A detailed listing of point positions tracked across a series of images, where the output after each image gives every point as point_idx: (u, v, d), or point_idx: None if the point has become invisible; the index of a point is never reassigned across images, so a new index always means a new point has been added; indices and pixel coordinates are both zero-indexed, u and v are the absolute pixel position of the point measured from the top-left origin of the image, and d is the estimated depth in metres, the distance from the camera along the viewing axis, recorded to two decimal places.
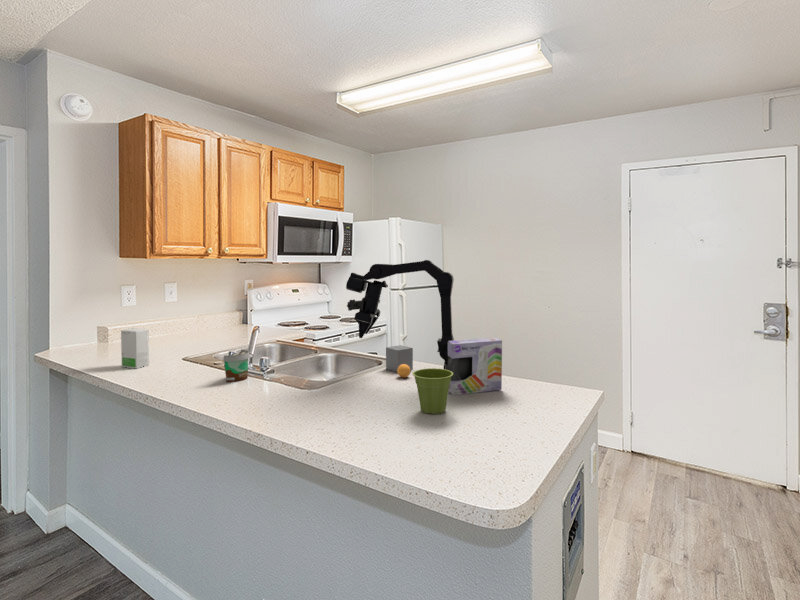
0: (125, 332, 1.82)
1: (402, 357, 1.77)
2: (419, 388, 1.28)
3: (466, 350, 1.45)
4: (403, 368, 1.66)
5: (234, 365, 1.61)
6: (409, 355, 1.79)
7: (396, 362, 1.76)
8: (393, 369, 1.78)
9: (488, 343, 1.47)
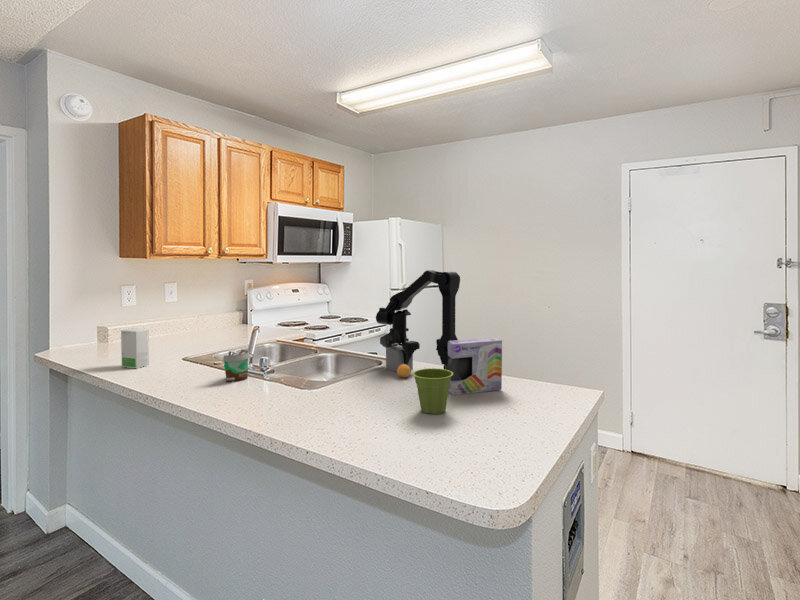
0: (125, 332, 1.82)
1: (402, 357, 1.77)
2: (419, 388, 1.28)
3: (466, 350, 1.45)
4: (403, 368, 1.66)
5: (234, 365, 1.61)
6: None
7: (396, 362, 1.76)
8: (393, 369, 1.78)
9: (488, 343, 1.47)
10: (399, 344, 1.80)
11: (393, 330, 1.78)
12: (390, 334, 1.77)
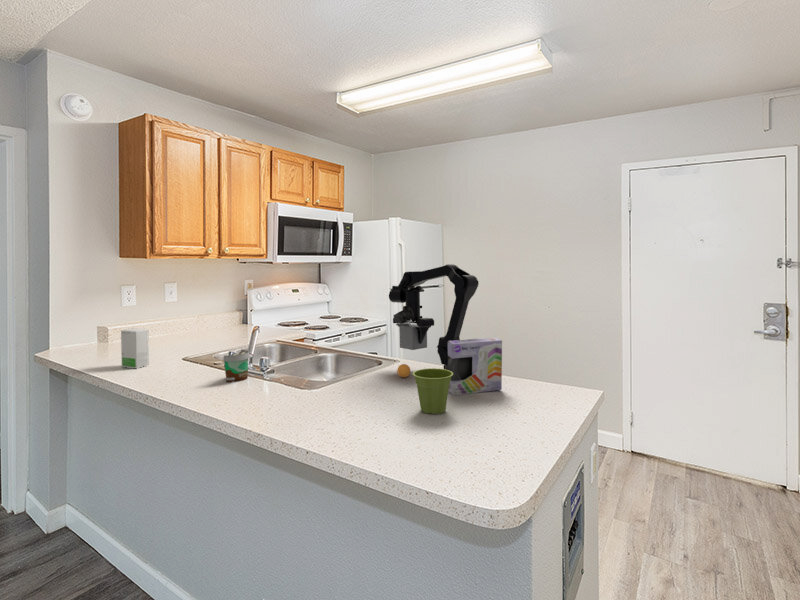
0: (125, 332, 1.82)
1: (416, 334, 1.73)
2: (419, 388, 1.28)
3: (466, 350, 1.45)
4: (403, 368, 1.66)
5: (234, 365, 1.61)
6: None
7: (410, 340, 1.72)
8: (407, 347, 1.74)
9: (488, 343, 1.47)
10: (413, 322, 1.76)
11: (406, 307, 1.74)
12: (404, 311, 1.73)
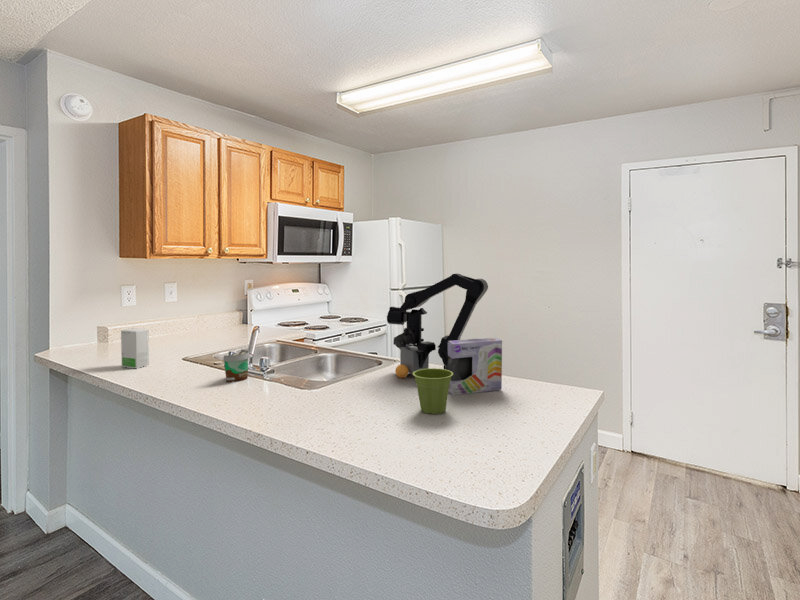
0: (125, 332, 1.82)
1: (417, 358, 1.67)
2: (419, 388, 1.28)
3: (466, 350, 1.45)
4: (400, 369, 1.65)
5: (234, 365, 1.61)
6: None
7: (411, 363, 1.67)
8: None
9: (488, 343, 1.47)
10: (414, 345, 1.70)
11: (407, 330, 1.69)
12: (404, 334, 1.67)
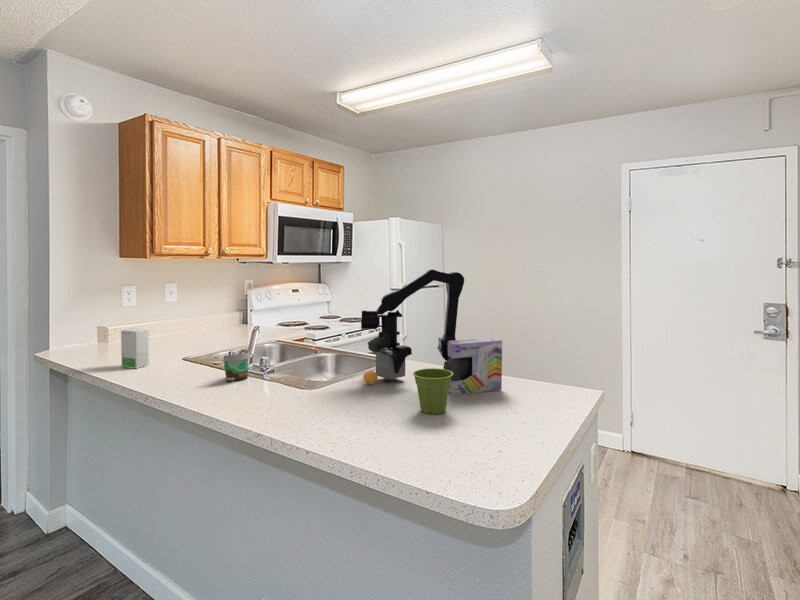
0: (125, 332, 1.82)
1: (393, 362, 1.60)
2: (419, 388, 1.28)
3: (466, 350, 1.45)
4: (369, 374, 1.56)
5: (234, 365, 1.61)
6: None
7: (387, 368, 1.59)
8: (383, 376, 1.61)
9: (488, 343, 1.47)
10: (389, 349, 1.62)
11: (382, 334, 1.61)
12: (379, 338, 1.60)
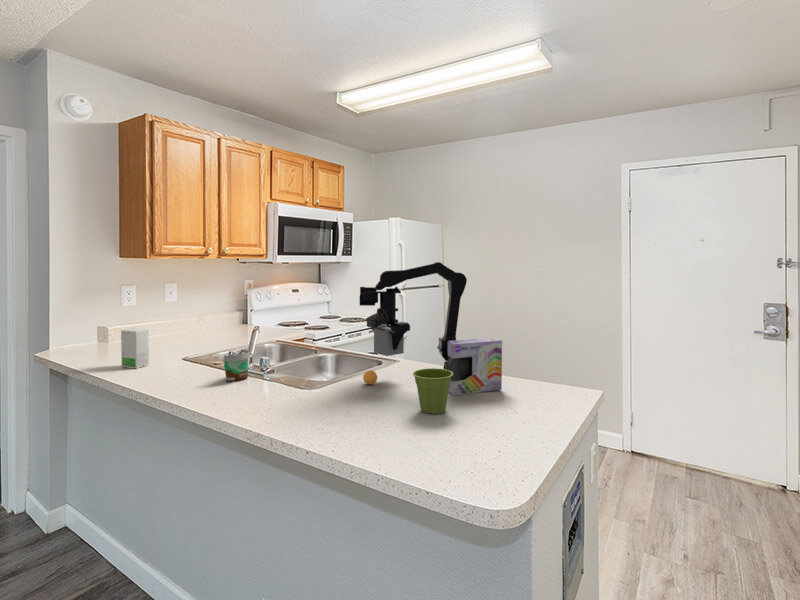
0: (125, 332, 1.82)
1: (391, 339, 1.58)
2: (419, 388, 1.28)
3: (466, 350, 1.45)
4: (369, 374, 1.56)
5: (234, 365, 1.61)
6: None
7: (385, 345, 1.58)
8: (381, 353, 1.60)
9: (488, 343, 1.47)
10: (387, 326, 1.61)
11: (381, 310, 1.60)
12: (377, 314, 1.58)
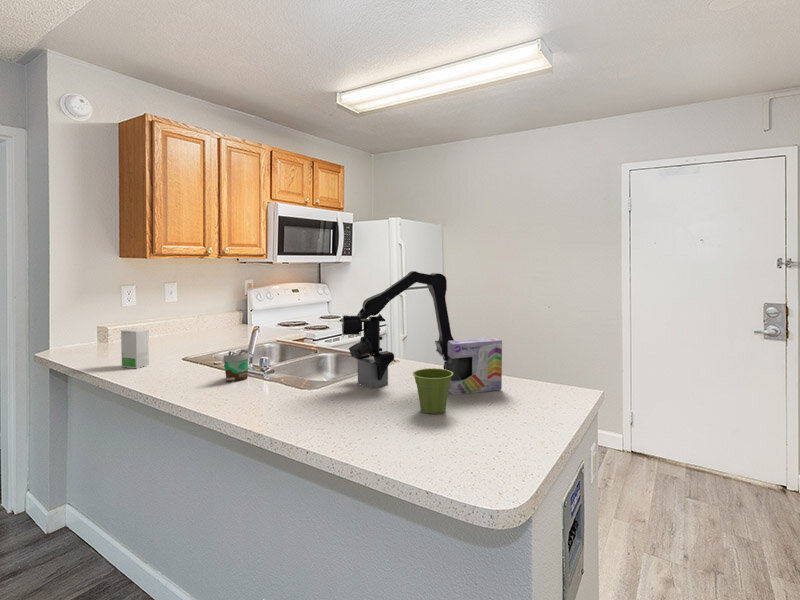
0: (125, 332, 1.82)
1: (375, 370, 1.54)
2: (419, 388, 1.28)
3: (466, 350, 1.45)
4: None
5: (234, 365, 1.61)
6: None
7: (368, 377, 1.54)
8: (365, 384, 1.56)
9: (488, 343, 1.47)
10: (370, 354, 1.58)
11: (364, 339, 1.56)
12: (361, 343, 1.54)
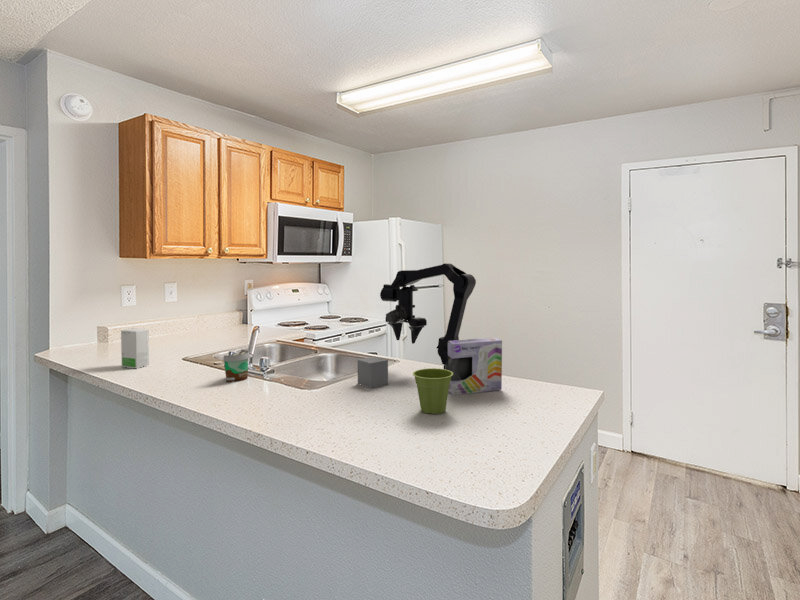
0: (125, 332, 1.82)
1: (375, 370, 1.54)
2: (419, 388, 1.28)
3: (466, 350, 1.45)
4: None
5: (234, 365, 1.61)
6: (383, 368, 1.57)
7: (368, 377, 1.54)
8: (365, 384, 1.56)
9: (488, 343, 1.47)
10: (404, 321, 1.75)
11: (399, 306, 1.73)
12: (396, 310, 1.72)
